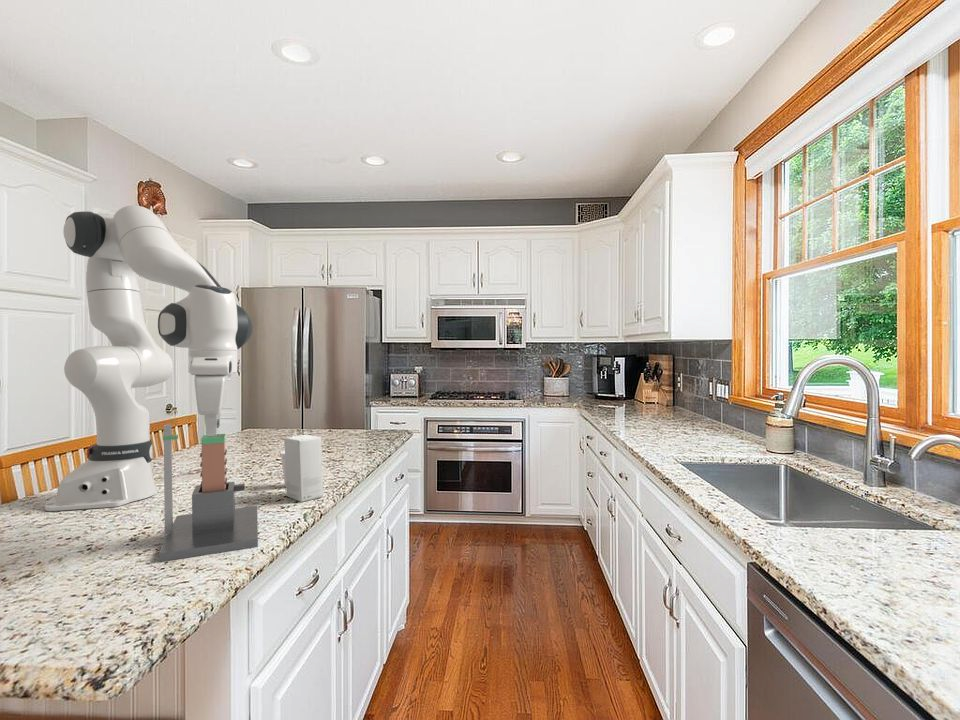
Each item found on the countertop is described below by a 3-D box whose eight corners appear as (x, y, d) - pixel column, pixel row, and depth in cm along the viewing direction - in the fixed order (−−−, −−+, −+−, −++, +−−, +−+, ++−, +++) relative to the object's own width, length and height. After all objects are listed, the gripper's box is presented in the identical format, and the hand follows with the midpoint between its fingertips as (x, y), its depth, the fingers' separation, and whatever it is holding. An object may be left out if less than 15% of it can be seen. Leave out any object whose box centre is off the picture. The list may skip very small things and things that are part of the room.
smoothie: (308, 483, 137) (308, 434, 137) (297, 489, 131) (297, 438, 130) (287, 482, 138) (286, 434, 137) (275, 489, 131) (274, 438, 131)
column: (200, 500, 96) (199, 438, 96) (202, 495, 100) (201, 435, 99) (226, 497, 98) (225, 436, 98) (227, 492, 102) (226, 433, 101)
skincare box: (323, 497, 124) (323, 437, 124) (299, 503, 119) (298, 440, 119) (308, 491, 129) (307, 433, 129) (284, 496, 125) (283, 436, 124)
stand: (154, 562, 85) (152, 433, 85) (173, 523, 105) (172, 418, 105) (257, 546, 92) (256, 427, 92) (257, 512, 112) (256, 414, 112)
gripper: (200, 362, 106) (200, 424, 107) (189, 366, 88) (189, 441, 88) (232, 362, 109) (232, 423, 109) (228, 366, 91) (228, 439, 91)
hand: (213, 431), depth 99 cm, fingers open, 8 cm apart
